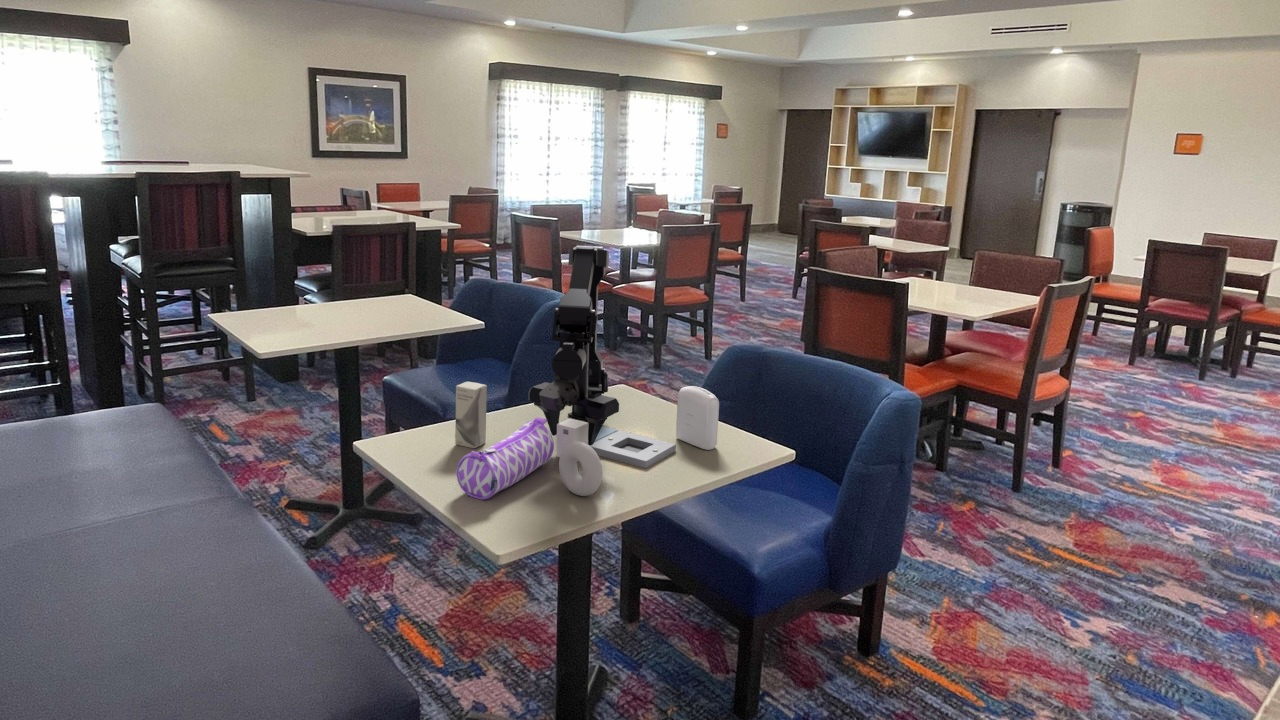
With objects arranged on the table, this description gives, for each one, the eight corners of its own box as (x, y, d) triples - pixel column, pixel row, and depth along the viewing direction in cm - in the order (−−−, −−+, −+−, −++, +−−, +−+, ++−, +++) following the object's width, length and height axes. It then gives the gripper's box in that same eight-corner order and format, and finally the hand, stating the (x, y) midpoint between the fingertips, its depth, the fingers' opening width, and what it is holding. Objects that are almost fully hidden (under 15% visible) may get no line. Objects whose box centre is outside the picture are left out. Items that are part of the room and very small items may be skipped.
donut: (605, 500, 148) (607, 447, 145) (591, 505, 146) (593, 452, 143) (568, 483, 155) (569, 433, 152) (554, 488, 152) (555, 437, 150)
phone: (568, 441, 176) (568, 437, 176) (597, 428, 185) (597, 424, 185) (591, 447, 173) (591, 443, 173) (619, 433, 182) (620, 430, 182)
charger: (556, 456, 168) (556, 424, 166) (569, 450, 171) (570, 418, 170) (574, 461, 165) (575, 428, 164) (587, 455, 169) (588, 422, 167)
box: (454, 445, 171) (453, 385, 168) (466, 438, 175) (465, 380, 172) (476, 449, 170) (475, 389, 166) (487, 442, 174) (487, 384, 170)
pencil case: (494, 508, 143) (494, 456, 141) (450, 497, 147) (449, 447, 145) (557, 466, 163) (558, 420, 161) (517, 457, 167) (517, 412, 164)
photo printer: (672, 437, 181) (675, 383, 178) (687, 434, 184) (690, 380, 181) (704, 452, 173) (708, 395, 170) (719, 448, 176) (723, 392, 173)
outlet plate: (588, 452, 170) (588, 444, 170) (619, 436, 180) (620, 429, 180) (645, 468, 163) (646, 460, 163) (675, 451, 173) (676, 443, 173)
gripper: (510, 365, 162) (510, 441, 166) (588, 383, 152) (586, 462, 156) (546, 355, 171) (545, 426, 175) (621, 370, 161) (619, 445, 165)
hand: (572, 440), depth 168 cm, fingers open, 9 cm apart
